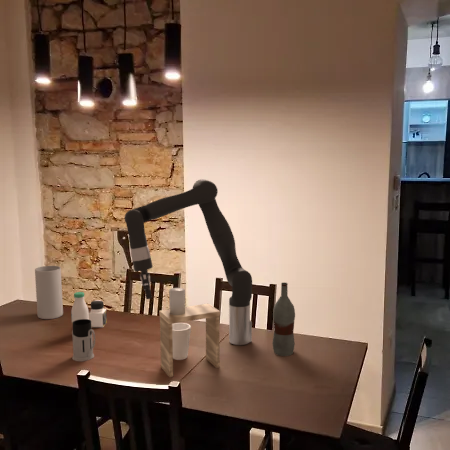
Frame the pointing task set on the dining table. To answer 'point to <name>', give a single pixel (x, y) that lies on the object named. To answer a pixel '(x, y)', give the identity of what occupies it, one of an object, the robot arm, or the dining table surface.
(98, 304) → the medicine bottle
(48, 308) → the cylinder vase
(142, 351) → the dining table surface
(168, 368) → the beige hollow frame
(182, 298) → the beige upright cylinder
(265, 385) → the dining table surface
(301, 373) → the dining table surface
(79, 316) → the milk bottle
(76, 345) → the glass holder
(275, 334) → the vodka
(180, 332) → the foam cup
